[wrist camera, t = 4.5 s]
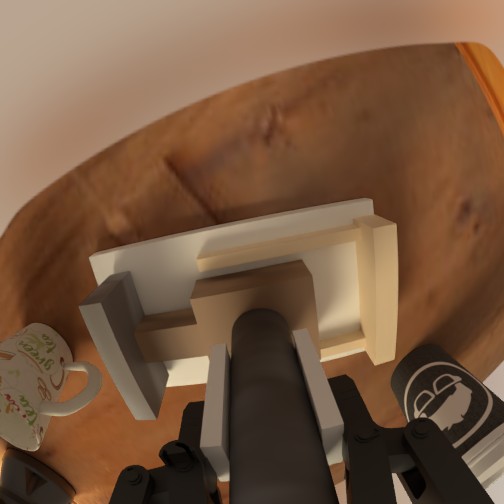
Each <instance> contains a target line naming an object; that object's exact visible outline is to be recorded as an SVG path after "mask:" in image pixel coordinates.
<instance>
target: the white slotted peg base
mask: <svg viewBox="0 0 504 504" xmlns="http://www.w3.org/2000/svg"><path fill="white" fill-rule="evenodd" d="M301 259H302V260H303V262H304V263H305V265H306V267H307V268H308V270H309V271H310V273H311V274H312V276H313V284H314V292H315V301H316V310H317V319H318V329H319V339H320V350H321V360H320V362H324V361H328V360H332V359H336V358H340V357H343V356H347V355H351V354H354V353H358V352H362V351H366V352H367V354H368V355H369V357H370V359H371V360H372V362H373V363H374V365H379V364H382V363H385V362H388V361H391V360H394V359H395V347H396V333H397V314H398V245H397V226H396V223H394V222H391V221H389V220H387V219H384V218H382V217H380V216H377V215H375V214H374V209H373V200H372V199H368V198H360V199H354V200H348V201H342V202H336V203H331V204H325V205H319V206H313V207H308V208H302V209H297V210H292V211H286V212H281V213H275V214H270V215H265V216H260V217H255V218H250V219H245V220H240V221H235V222H230V223H225V224H220V225H215V226H210V227H205V228H201V229H196V230H191V231H187V232H182V233H177V234H173V235H168V236H164V237H159V238H155V239H151V240H146V241H142V242H137V243H133V244H129V245H125V246H120V247H116V248H112V249H108V250H104V251H99V252H96V253H94V254H93V255H91V256H90V257H89V260H90V263H91V266H92V269H93V272H94V275H95V278H96V281H97V283H98V286H99V285H100V284H101V283H102V282H103V281H104V280H105V279H106V278H107V277H109V276H110V275H112V274H117V273H122V272H127V271H130V273H131V276H132V279H133V282H134V285H135V288H136V291H137V294H138V297H139V300H140V303H141V305H142V308H143V311H144V314H145V315H151V314H157V313H164V312H170V311H176V310H182V309H188V308H192V305H191V302H190V297H191V294H192V291H193V288H194V285H195V283H196V280H199V279H204V278H209V277H215V276H220V275H225V274H230V273H235V272H241V271H246V270H251V269H256V268H261V267H266V266H271V265H276V264H281V263H286V262H291V261H296V260H301ZM163 362H164V364H165V366H166V369H167V371H168V373H169V378H168V381H167V385H166V387H171V386H182V385H192V384H201V383H207V378H208V370H209V362H210V361H209V358H208V356H202V357H195V358H187V359H179V360H170V361H163Z"/></svg>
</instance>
